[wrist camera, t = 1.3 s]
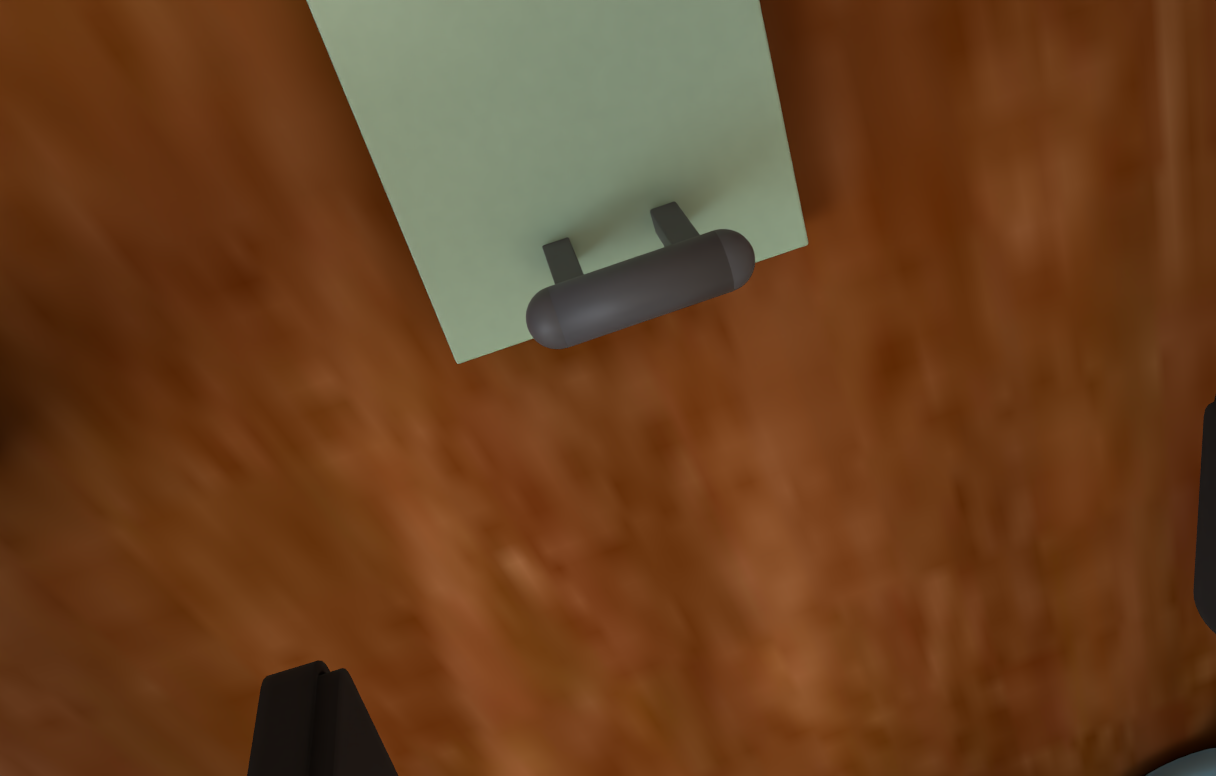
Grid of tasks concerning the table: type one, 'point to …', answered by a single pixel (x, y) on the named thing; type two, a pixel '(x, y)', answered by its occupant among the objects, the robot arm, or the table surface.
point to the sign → (569, 155)
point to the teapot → (1190, 765)
